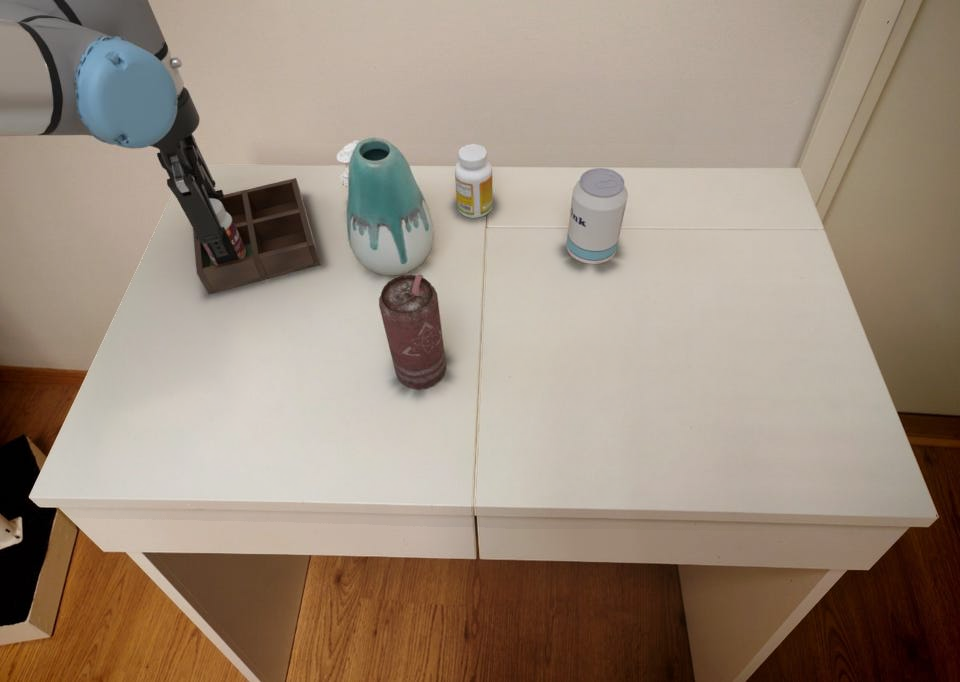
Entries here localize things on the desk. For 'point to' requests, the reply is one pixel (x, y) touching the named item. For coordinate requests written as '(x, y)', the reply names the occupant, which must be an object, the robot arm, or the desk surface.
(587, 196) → the beverage can
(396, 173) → the vase
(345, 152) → the flower shoulder figurine
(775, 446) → the desk surface
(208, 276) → the holder
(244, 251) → the pill bottle
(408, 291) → the red cylinder
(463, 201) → the supplement bottle
